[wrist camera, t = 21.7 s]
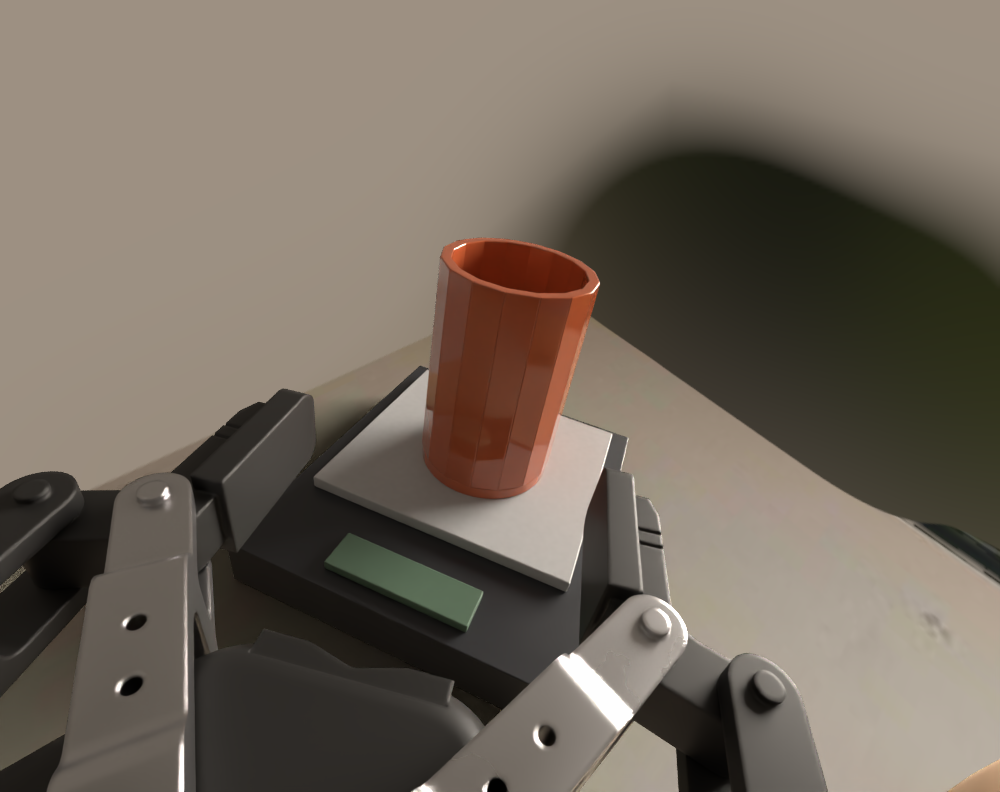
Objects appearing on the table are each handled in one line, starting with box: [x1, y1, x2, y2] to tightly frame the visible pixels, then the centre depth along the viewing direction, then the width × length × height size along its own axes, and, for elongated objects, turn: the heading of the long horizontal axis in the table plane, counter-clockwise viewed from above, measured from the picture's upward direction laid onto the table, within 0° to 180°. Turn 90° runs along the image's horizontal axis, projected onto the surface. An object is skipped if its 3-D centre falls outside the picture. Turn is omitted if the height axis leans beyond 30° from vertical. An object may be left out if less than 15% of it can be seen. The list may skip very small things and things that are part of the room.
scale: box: [228, 366, 628, 709], centre depth 25 cm, size 14×16×3 cm
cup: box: [422, 238, 600, 499], centre depth 22 cm, size 6×6×10 cm
